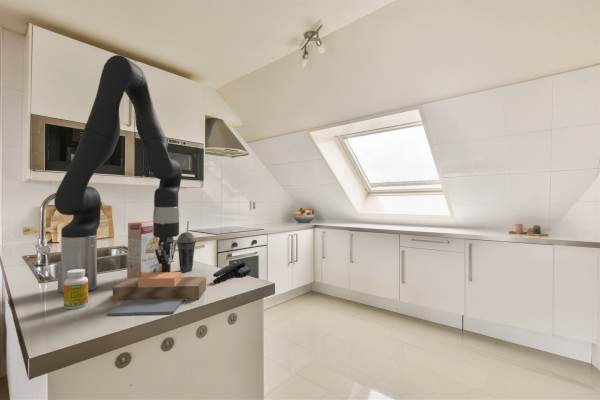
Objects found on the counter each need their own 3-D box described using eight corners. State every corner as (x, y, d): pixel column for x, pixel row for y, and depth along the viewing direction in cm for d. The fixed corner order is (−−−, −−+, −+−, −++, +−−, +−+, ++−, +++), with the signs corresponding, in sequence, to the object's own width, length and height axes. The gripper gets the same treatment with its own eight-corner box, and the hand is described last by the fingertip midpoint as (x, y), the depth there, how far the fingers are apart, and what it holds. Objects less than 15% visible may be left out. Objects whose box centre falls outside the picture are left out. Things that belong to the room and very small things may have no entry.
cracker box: (141, 283, 104) (141, 223, 104) (126, 282, 105) (126, 222, 105) (167, 273, 118) (167, 220, 117) (153, 272, 119) (153, 219, 119)
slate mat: (107, 315, 76) (107, 313, 76) (126, 301, 86) (126, 299, 86) (173, 313, 78) (173, 311, 78) (184, 300, 88) (184, 298, 88)
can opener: (239, 271, 122) (239, 258, 122) (252, 274, 119) (253, 260, 119) (205, 282, 107) (206, 266, 107) (220, 285, 103) (220, 269, 103)
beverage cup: (172, 272, 119) (173, 221, 119) (182, 268, 127) (183, 220, 126) (189, 273, 118) (190, 222, 118) (199, 269, 125) (199, 220, 125)
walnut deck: (112, 301, 87) (112, 287, 86) (128, 290, 96) (128, 277, 96) (198, 299, 89) (198, 285, 89) (205, 289, 99) (206, 276, 99)
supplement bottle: (68, 311, 79) (68, 274, 79) (60, 306, 82) (60, 271, 82) (91, 304, 84) (91, 269, 83) (82, 301, 86) (82, 267, 86)
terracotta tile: (138, 287, 87) (138, 278, 87) (147, 280, 94) (147, 272, 94) (174, 286, 88) (174, 278, 88) (181, 280, 95) (181, 272, 95)
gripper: (161, 219, 102) (161, 270, 102) (145, 223, 88) (145, 282, 89) (184, 219, 102) (184, 270, 103) (172, 223, 89) (172, 281, 90)
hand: (166, 275), depth 96 cm, fingers closed
